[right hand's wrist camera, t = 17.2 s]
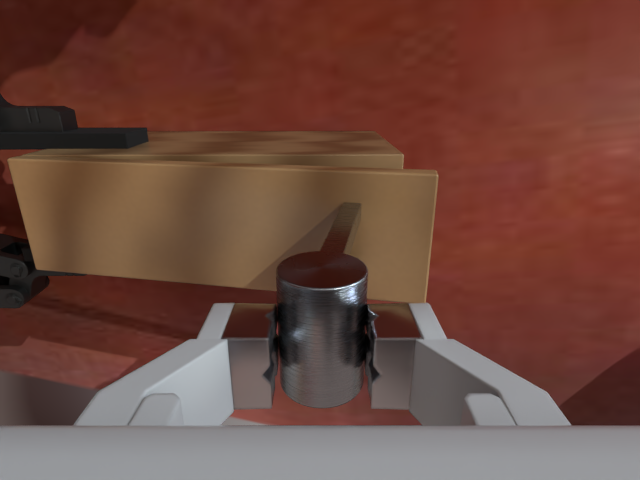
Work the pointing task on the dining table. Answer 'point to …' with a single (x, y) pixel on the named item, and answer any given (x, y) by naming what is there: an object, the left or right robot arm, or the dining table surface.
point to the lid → (246, 242)
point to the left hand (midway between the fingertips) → (145, 194)
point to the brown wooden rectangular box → (255, 148)
